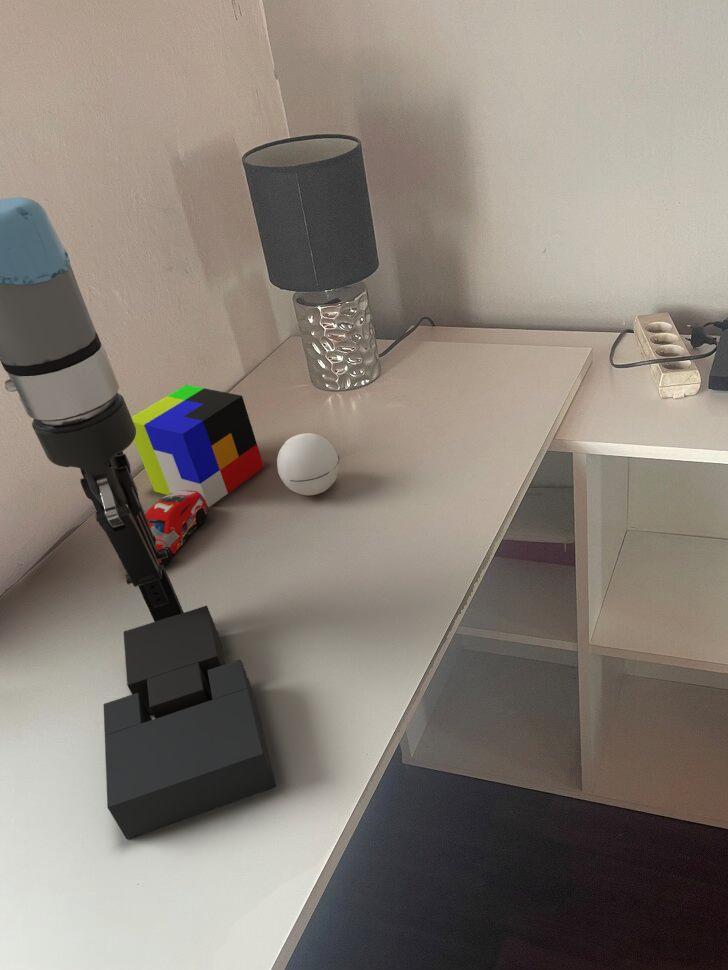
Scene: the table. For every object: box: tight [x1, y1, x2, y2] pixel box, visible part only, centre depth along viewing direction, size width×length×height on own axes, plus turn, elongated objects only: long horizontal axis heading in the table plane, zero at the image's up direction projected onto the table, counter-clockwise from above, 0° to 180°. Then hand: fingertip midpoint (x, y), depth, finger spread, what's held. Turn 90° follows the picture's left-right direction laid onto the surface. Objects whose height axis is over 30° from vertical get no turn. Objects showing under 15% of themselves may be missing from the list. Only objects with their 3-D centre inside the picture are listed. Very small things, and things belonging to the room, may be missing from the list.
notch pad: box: [103, 659, 277, 840], centre depth 72 cm, size 12×12×4 cm
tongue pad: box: [123, 605, 226, 719], centre depth 79 cm, size 12×8×4 cm
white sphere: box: [276, 432, 362, 496], centre depth 102 cm, size 10×7×7 cm
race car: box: [145, 490, 209, 566], centre depth 99 cm, size 13×5×4 cm, turn 162°
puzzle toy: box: [131, 384, 265, 508], centre depth 108 cm, size 10×10×10 cm
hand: (171, 622), depth 86 cm, fingers closed
